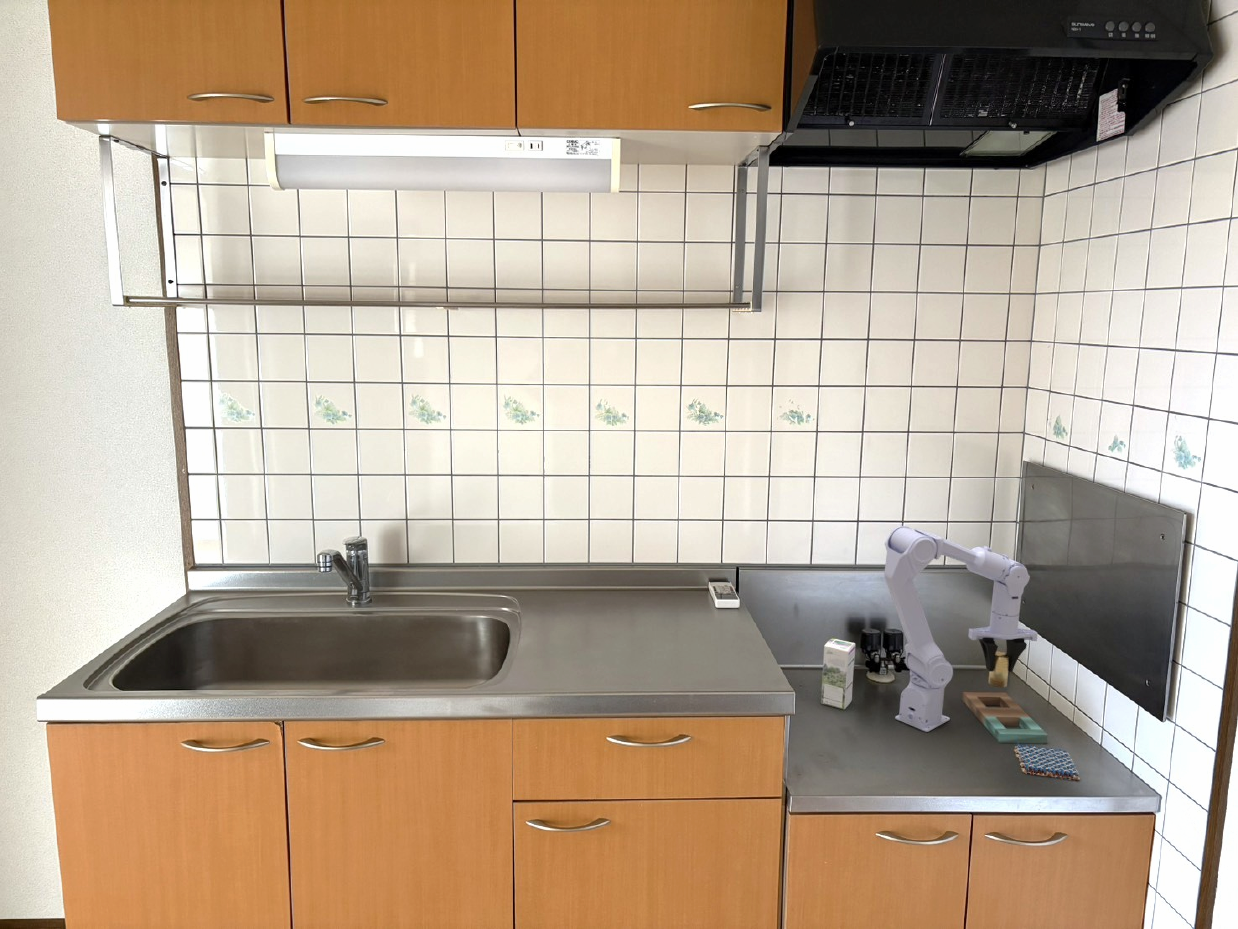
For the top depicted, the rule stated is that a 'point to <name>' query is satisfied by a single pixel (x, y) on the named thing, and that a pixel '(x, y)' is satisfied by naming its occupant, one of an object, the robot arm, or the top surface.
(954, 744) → the top surface
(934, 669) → the robot arm
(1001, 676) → the brass pin
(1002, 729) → the docking plate
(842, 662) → the syrup box
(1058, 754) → the woven mat
